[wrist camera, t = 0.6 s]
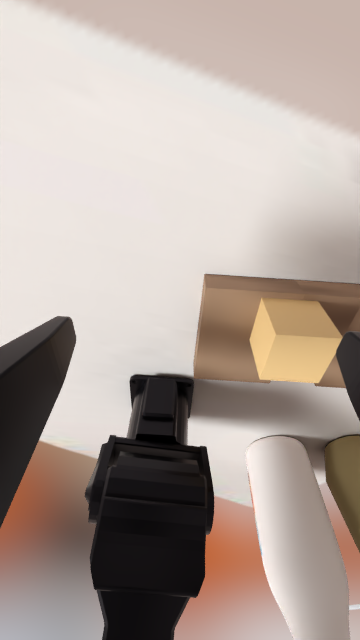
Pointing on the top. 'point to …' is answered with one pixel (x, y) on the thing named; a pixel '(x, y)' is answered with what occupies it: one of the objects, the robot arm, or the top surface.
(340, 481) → the squeeze bottle
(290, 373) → the block
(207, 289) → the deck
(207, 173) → the top surface
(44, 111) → the top surface
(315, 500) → the milk bottle
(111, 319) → the top surface
